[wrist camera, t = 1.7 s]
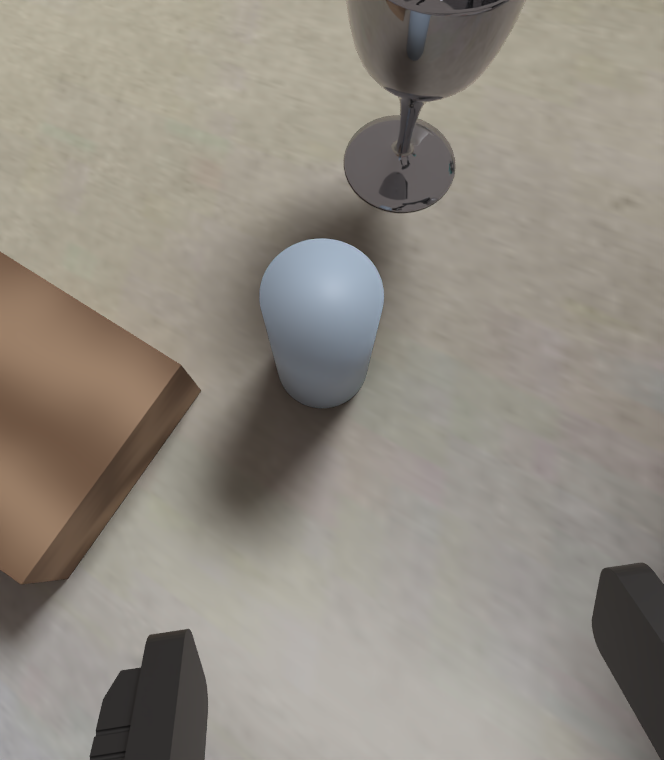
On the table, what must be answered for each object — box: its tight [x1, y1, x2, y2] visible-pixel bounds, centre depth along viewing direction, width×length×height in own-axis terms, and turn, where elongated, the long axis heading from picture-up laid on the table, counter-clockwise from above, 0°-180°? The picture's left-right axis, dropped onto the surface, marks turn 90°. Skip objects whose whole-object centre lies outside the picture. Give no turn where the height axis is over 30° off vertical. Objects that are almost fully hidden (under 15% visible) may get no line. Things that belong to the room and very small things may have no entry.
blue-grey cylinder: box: [260, 238, 384, 408], centre depth 30 cm, size 5×5×10 cm
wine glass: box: [344, 0, 526, 212], centre depth 31 cm, size 8×8×15 cm
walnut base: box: [0, 252, 201, 585], centre depth 31 cm, size 12×12×5 cm
